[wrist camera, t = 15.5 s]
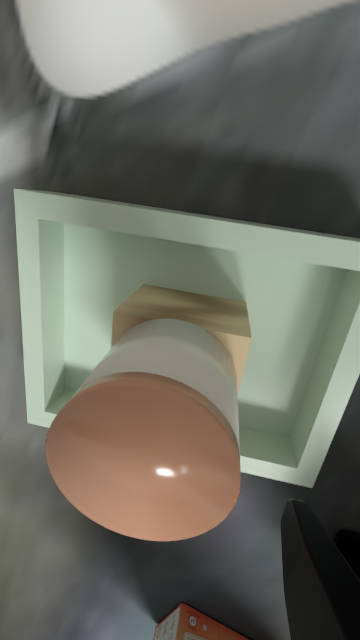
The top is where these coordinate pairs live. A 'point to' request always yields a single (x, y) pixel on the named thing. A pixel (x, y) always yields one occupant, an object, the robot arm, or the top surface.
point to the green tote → (202, 278)
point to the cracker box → (192, 627)
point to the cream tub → (152, 435)
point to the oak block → (189, 317)
